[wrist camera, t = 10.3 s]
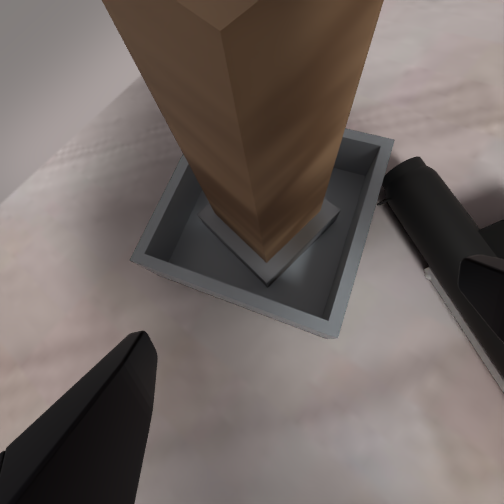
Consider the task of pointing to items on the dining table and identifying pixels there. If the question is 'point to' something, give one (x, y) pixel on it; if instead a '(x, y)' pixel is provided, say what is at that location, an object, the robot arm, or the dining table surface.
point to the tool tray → (300, 271)
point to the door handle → (446, 246)
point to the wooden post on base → (255, 108)
